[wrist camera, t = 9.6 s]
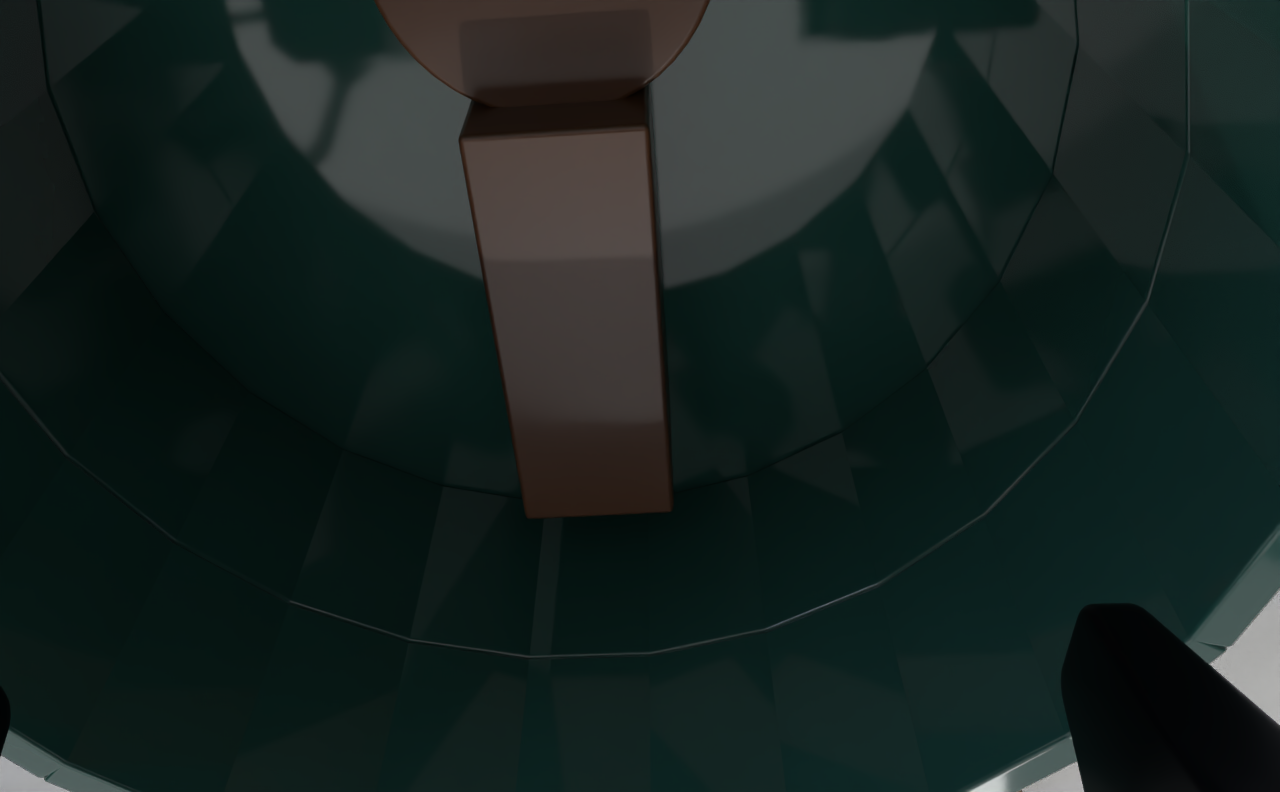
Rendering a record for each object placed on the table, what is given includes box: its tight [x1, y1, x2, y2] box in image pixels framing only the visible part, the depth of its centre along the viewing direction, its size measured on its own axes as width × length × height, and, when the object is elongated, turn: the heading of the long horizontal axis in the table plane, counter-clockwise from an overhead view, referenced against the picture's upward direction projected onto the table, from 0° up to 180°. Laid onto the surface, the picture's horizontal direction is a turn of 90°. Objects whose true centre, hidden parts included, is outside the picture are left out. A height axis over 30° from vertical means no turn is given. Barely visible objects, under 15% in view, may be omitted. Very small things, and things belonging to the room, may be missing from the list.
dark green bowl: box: [0, 0, 1280, 792], centre depth 12 cm, size 15×15×8 cm
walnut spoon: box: [374, 0, 710, 519], centre depth 14 cm, size 10×4×2 cm, turn 4°
